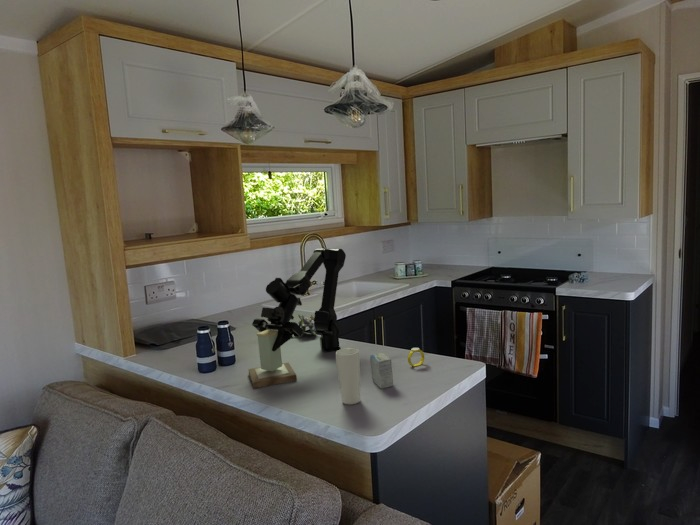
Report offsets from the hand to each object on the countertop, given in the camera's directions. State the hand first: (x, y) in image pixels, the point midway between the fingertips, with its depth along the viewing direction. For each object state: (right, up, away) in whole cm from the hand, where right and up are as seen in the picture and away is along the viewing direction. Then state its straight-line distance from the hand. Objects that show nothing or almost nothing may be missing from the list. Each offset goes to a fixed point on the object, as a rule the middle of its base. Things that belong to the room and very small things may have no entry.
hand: (267, 349), depth 176 cm
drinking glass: (+28, -11, -23) cm, 38 cm away
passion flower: (+8, -3, +51) cm, 52 cm away
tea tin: (+1, -6, +2) cm, 7 cm away
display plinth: (+1, -10, +2) cm, 10 cm away
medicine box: (+38, -9, -11) cm, 40 cm away
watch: (+50, -6, +3) cm, 51 cm away
